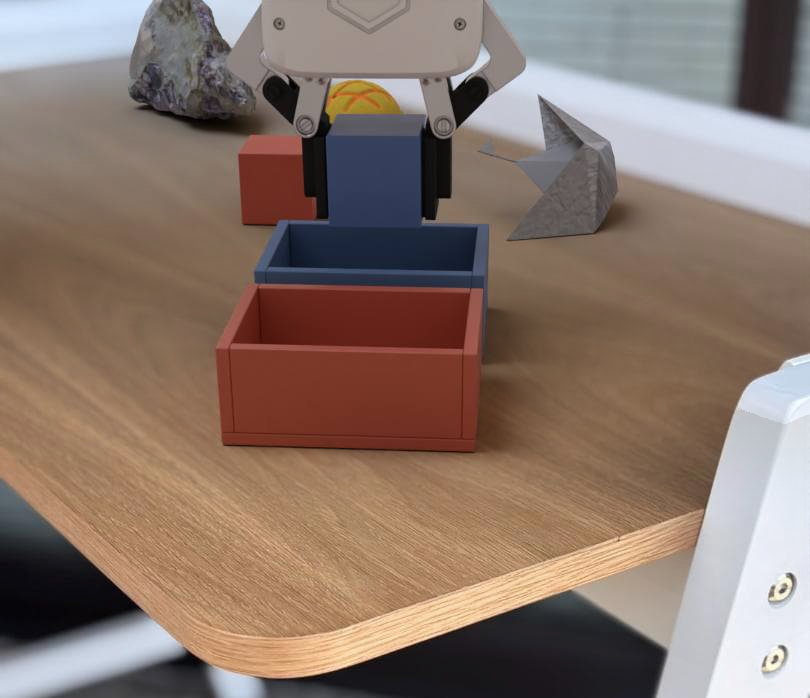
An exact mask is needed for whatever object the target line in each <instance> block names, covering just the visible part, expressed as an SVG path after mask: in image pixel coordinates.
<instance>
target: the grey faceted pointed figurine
mask: <svg viewBox="0 0 810 698" xmlns="http://www.w3.org/2000/svg"><path fill="white" fill-rule="evenodd" d="M537 99H538V107H539V111H540V112H539V113H540V118H541V125H542V131H543V138H544V144H545V150H544V151H541V152H537V153H533V154H531V155H528V156H525V157H522V158H519V159H511V158H508V157H505V156H501V155H497V154H494V144H493V138H490V139H489V140H488V141H487V142H486V143H485V144H483V145H482V146H480V147H479V148H478V149H477V151H476V152H477V153H481V154H483V155H487V156H489V157H494V158H497V159H501V160H505V161H507V162H508V161H509V162H510V163H511V162H512V163H515V165H516V166H518V167H519V169H520V170H521V171H522V172H523V173H524V174H525V175H526V176H527V177H528V178H529V179H530V181H531V182H532V183H533V184H534V185H535V186H536V187H537V188H538V189H539V190H540V191H541V193H542V195H541V197H539V199H538V200H537V201H536V203H535V204H534V205H533V207H532V208H530V210H529V211H528V213H527V214H526V215H525V217H523V219H522V220H521V222H520V223H518V225H517V227H516V228H515V229H514V230H513V231H512V232H511V234H510V235H509V237H508V238H507V239H506V241H517V240H527V239H529V240H530V239H541V238H552V237H562V236H563V237H564V236H573V235H586V234H587V235H588V234H595V232H596V231H597V230H598V229H599V227H600V226H601V225H602V223H603V222H604V220H605V219H606V216H607V214H608V212H609V210H610V209H611V206H612V204H613V202H614V200H615V198H616V196H617V195H618V192H619V187H618V178H617V170H616V169H617V168H616V167H617V166H616V161H615V160H616V159H615V154H614V151H613V148H612V144H611V141H610V140H608V139H607V138H605V137H604V136H603V135H601V134H600V133H598V132H596V131H595V130H594V129H592V128H590V127H589V126H588V125H586V124H585V123H583V122H582V121H579V120H578V119H577V118H575V117H574V116H572V115H570V114H569V113H567V112H566V111H564V110H563V109H561V108H560V107H559V106H557V105H556V104H554V103H552V102H551V101H549V100H547V99H546V98H545V97H543V96H542V95H540V94H538V93H537Z"/></svg>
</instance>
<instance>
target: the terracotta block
mask: <svg viewBox="0 0 810 698" xmlns="http://www.w3.org/2000/svg"><path fill="white" fill-rule="evenodd" d="M237 160H238V177H239V195H240V212H241V213H240V214H241V224H242V225H265V226H266V225H270V226H271V225H274V226H277V224H278V222H279V220H289V221H291V220H305V221H316V219H317V209H316V197H305V195H304V181H303V158H302V137H300V136H299V135H284V134H283V135H276V134H275V135H274V134H271V135H270V134H250V135H249V136H248V138H247V139H246V141H245V143H244V144H243V145H242V147H241V148H240V150H239V151H238V153H237Z"/></svg>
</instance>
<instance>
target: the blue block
mask: <svg viewBox="0 0 810 698" xmlns="http://www.w3.org/2000/svg"><path fill="white" fill-rule="evenodd" d="M426 121H427V115H426V114H424V113H404V114H337V115H336V117H335V119H334V121H333V123H332V125H331V127H330V129H329V132H328V134H327V136H326V156H327V182H328V209H329V218H328V221H329V227H330V228H393V229H420V228H421V224H422V223H423V219H424V217H422V175H421V142H422V138H423V134H424V130H425V128H426Z"/></svg>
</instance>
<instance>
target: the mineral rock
mask: <svg viewBox="0 0 810 698" xmlns="http://www.w3.org/2000/svg"><path fill="white" fill-rule="evenodd" d="M213 14H214V13H213V10H212V8H211V7H210V6H209V5H208V4H207V3H206V2H204V0H151V2H150V4H149V5H148V6H147V8H146V10H145V12H144V16H143V18H142V19H141V23H140V26H139V29H138V31H137V35H136V39H135V44H134V46H133V49H132V52H131V56H130V60H129V81H128V83H127V92H128V95H129V97H130V99H132V100H133V101H134V102H136V103H138V104H145V105H148V106H151V107H153V108H154V109H155V110H157V111H161V112H162V111H164V112H171V113H173V114H175V115H177V116H185V117H190V118H193V119H194V120H196V119H201V118H203V119H202V120H204V119H206V120H209V119H216V118H215V117H217V118H218V119H220V120H227V119H230V118H232V117H235V118H238V117H240V116H246V117H250V116H252V115H253V114H254V112H255V111H256V107H257V97H256V95H255V93H254V92H253V88H251V87H250V86H249V85H247V84H246V83H244V82H243V81H242V80H240V79H239V78H238V77H236V76H235V75H233V74H232V73H231V72H230V71H229V70H228V69H227V67H226V58H227V56H228V55H229V53H230V51H231V50H232V48H233V47H231V46H230V44H229V43H228V42H227V41H226V40H225V39H224V38H223V36H222V34H221V32H220V30H219V28H218V26H217V25H216V21H215V17H214V15H213ZM208 118H209V119H208Z"/></svg>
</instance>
